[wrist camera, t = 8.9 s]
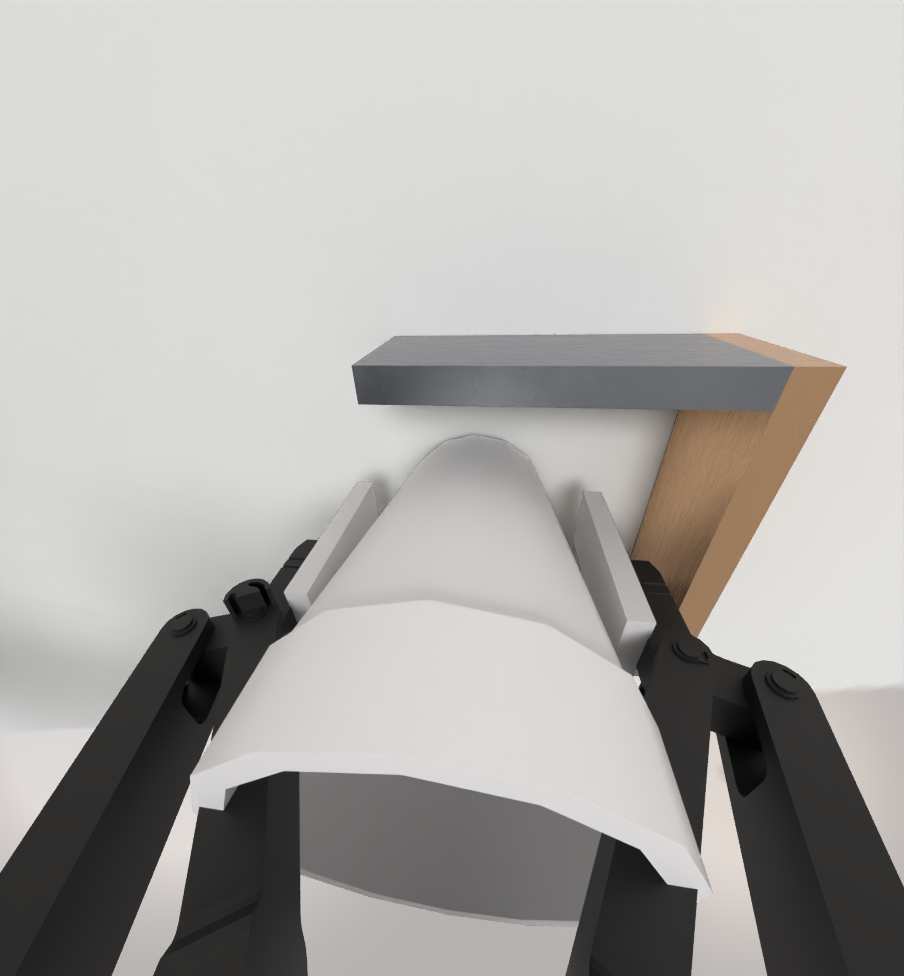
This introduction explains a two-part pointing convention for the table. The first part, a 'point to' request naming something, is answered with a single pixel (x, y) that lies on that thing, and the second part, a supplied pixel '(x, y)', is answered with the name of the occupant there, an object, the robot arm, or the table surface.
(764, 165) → the table surface
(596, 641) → the foam cup
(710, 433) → the channel
